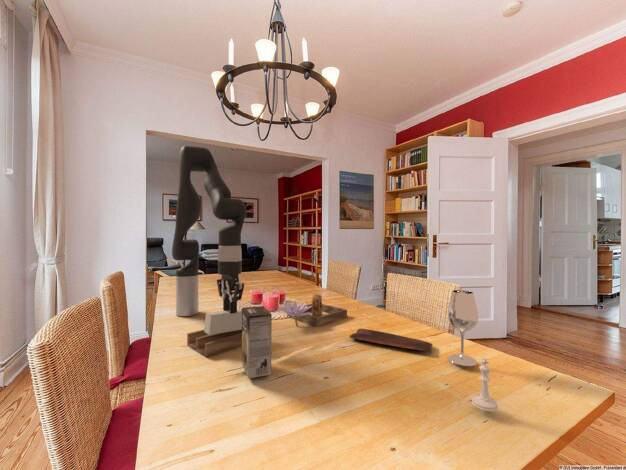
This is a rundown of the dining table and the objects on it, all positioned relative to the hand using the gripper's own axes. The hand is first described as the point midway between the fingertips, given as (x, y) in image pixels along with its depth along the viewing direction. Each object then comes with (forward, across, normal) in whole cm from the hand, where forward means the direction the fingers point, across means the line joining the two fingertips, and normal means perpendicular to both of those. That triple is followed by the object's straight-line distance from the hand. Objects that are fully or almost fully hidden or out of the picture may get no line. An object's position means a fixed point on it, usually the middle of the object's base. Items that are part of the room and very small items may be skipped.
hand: (230, 311), depth 98 cm
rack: (+11, -3, 0) cm, 12 cm away
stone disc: (+11, -2, +43) cm, 45 cm away
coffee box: (+11, +20, -4) cm, 24 cm away
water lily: (+11, 0, +29) cm, 31 cm away
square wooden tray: (+11, -2, +43) cm, 45 cm away
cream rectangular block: (+6, 0, 0) cm, 6 cm away
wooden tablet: (+11, +34, +45) cm, 57 cm away
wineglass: (+11, +58, +41) cm, 72 cm away
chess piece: (+11, +69, +21) cm, 73 cm away
